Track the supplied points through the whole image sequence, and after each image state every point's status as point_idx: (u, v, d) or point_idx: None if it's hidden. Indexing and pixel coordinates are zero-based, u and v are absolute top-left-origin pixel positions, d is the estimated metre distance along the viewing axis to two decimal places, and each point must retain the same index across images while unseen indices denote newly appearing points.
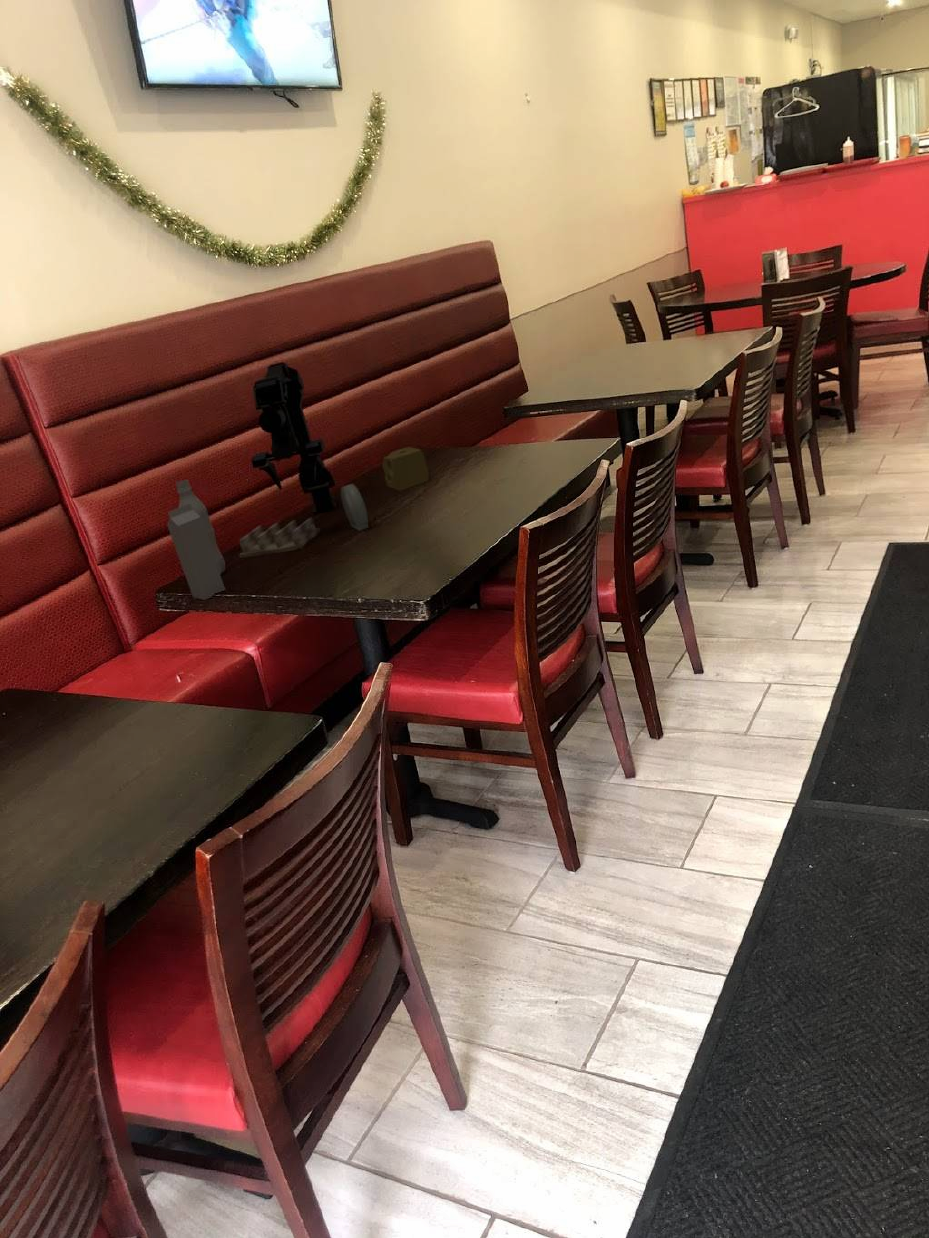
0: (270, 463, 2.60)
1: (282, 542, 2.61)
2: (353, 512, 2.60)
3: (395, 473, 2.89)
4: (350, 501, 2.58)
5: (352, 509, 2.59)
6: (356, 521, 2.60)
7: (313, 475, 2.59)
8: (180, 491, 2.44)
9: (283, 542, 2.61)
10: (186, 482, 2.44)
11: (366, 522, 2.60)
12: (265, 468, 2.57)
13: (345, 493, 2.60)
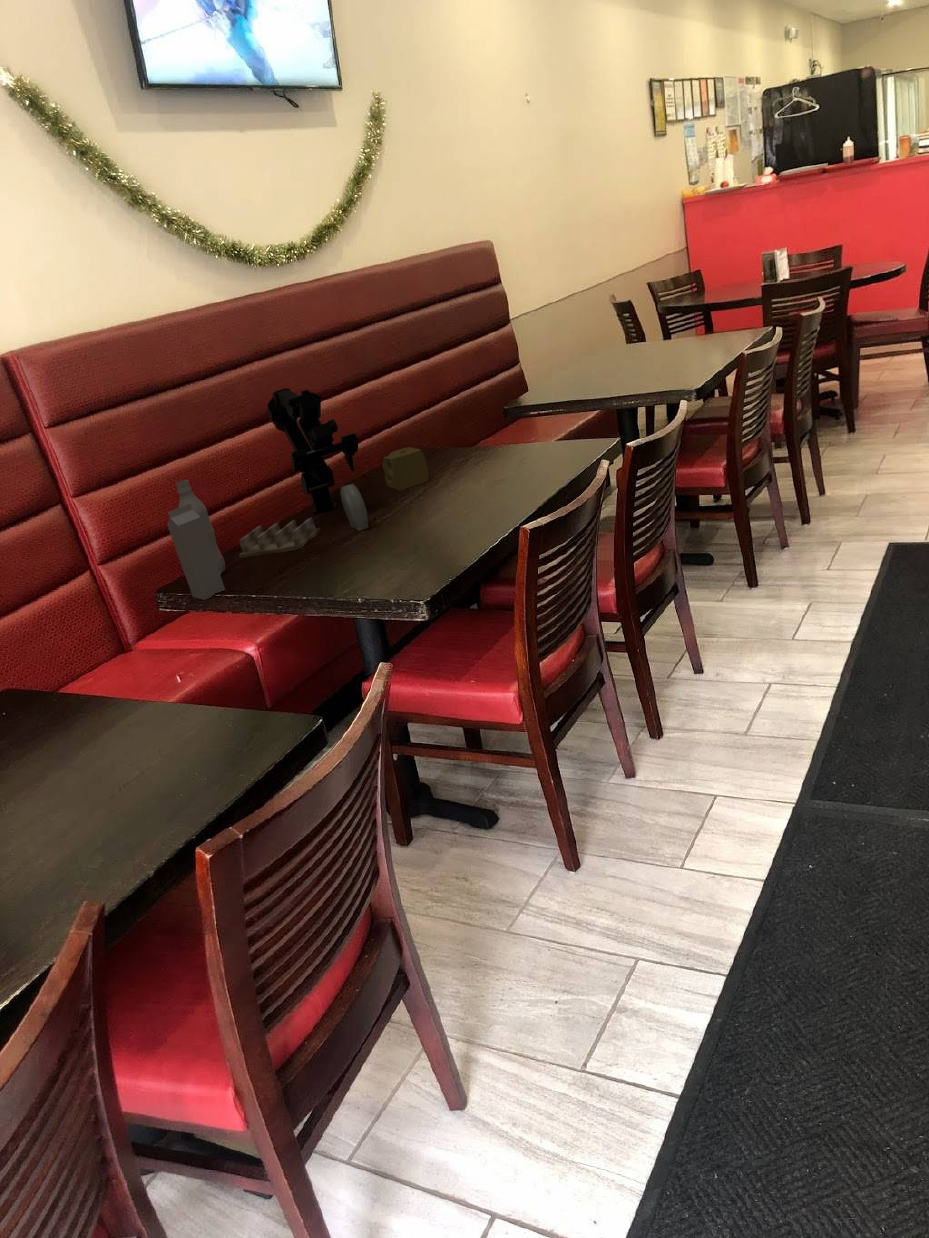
0: None
1: (282, 542, 2.61)
2: (353, 512, 2.60)
3: (395, 473, 2.89)
4: (350, 501, 2.58)
5: (352, 509, 2.59)
6: (356, 521, 2.60)
7: (352, 463, 2.67)
8: (180, 491, 2.44)
9: (283, 542, 2.61)
10: (186, 482, 2.44)
11: (366, 522, 2.60)
12: (306, 458, 2.64)
13: (345, 493, 2.60)
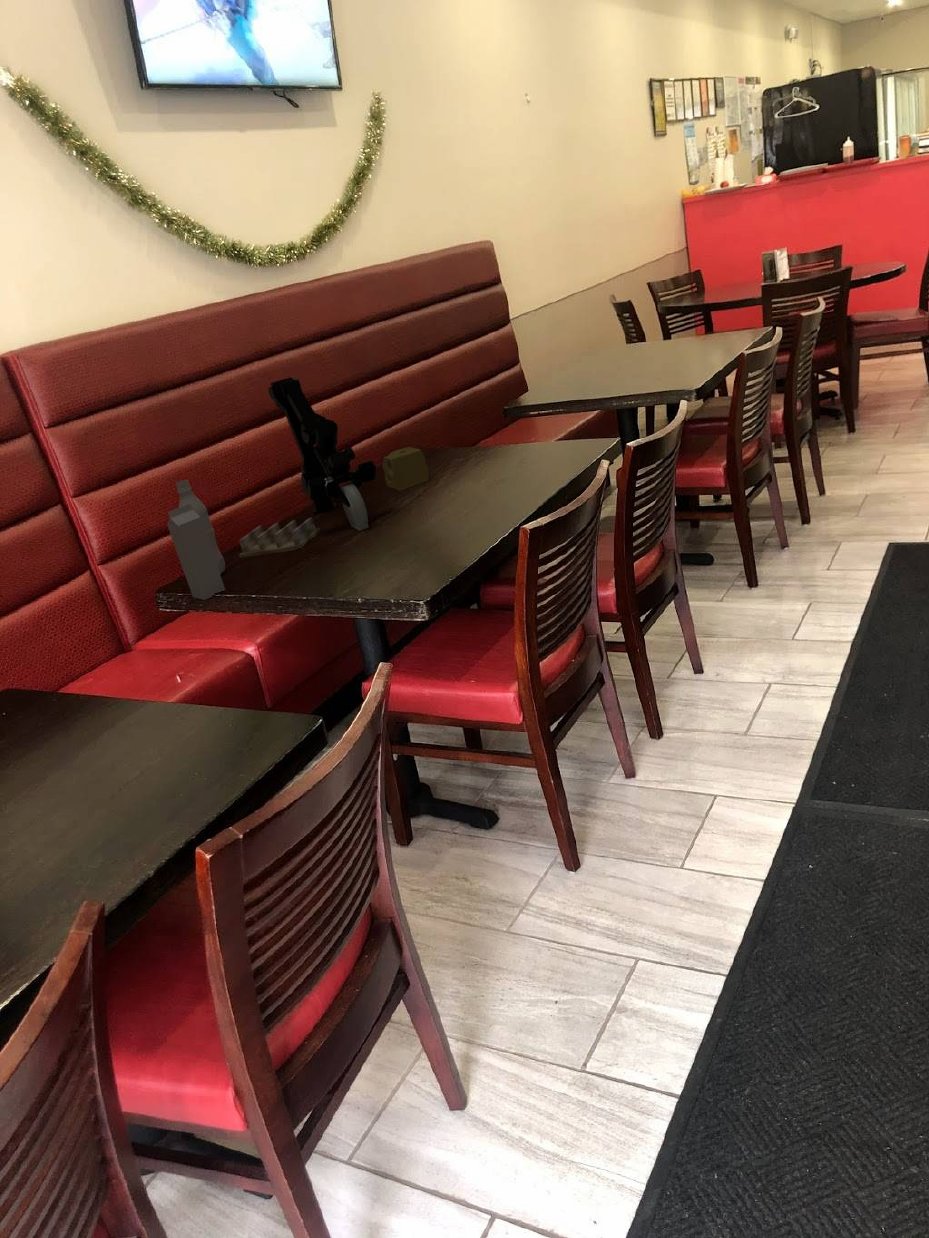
0: None
1: (282, 542, 2.61)
2: (353, 512, 2.60)
3: (395, 473, 2.89)
4: (350, 501, 2.58)
5: (352, 509, 2.59)
6: (356, 521, 2.60)
7: None
8: (180, 491, 2.44)
9: (283, 542, 2.61)
10: (186, 482, 2.44)
11: (366, 522, 2.60)
12: (333, 482, 2.59)
13: (345, 493, 2.60)
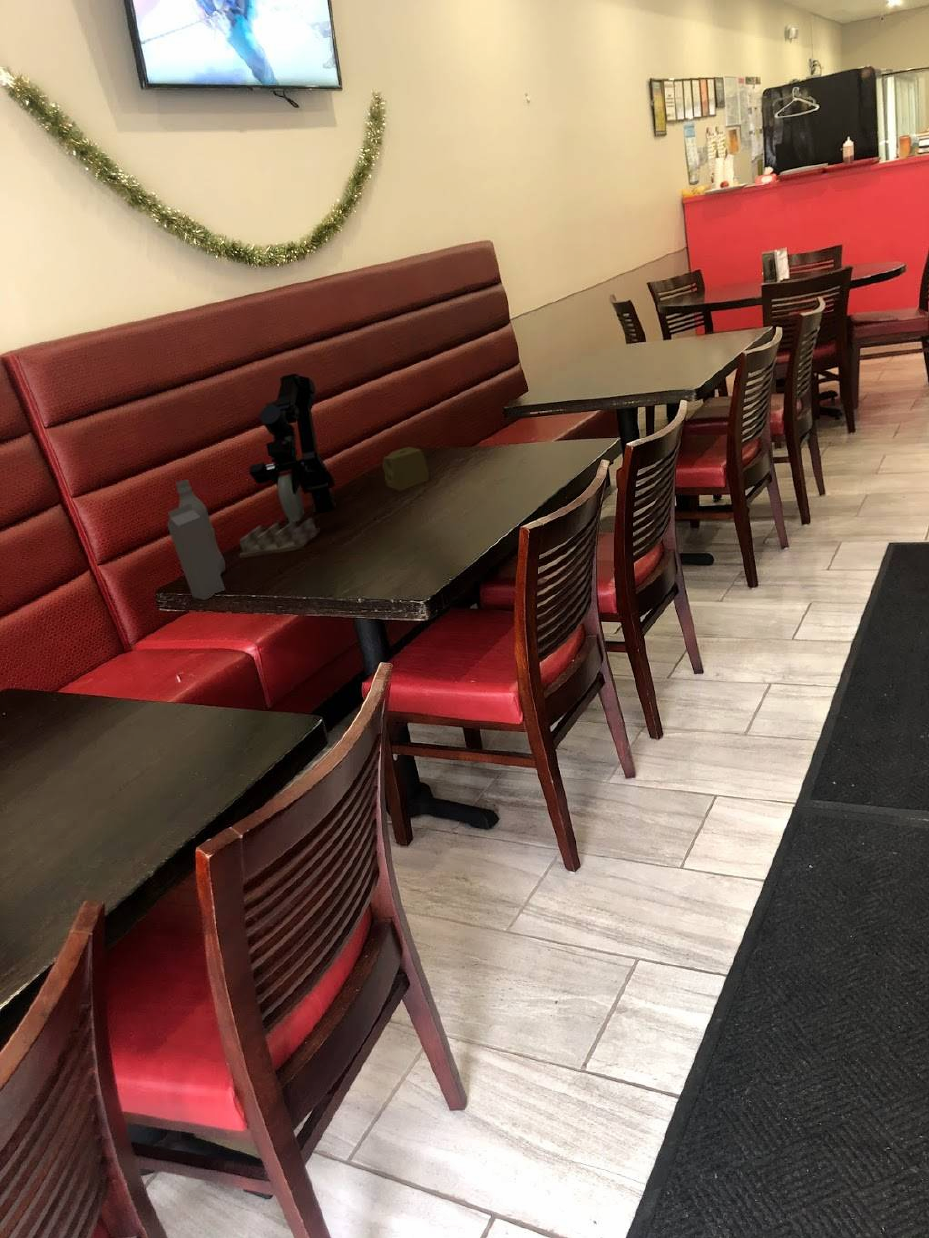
0: (279, 475, 2.62)
1: (282, 542, 2.61)
2: None
3: (395, 473, 2.89)
4: None
5: None
6: None
7: (293, 486, 2.58)
8: (180, 491, 2.44)
9: (283, 542, 2.61)
10: (186, 482, 2.44)
11: (295, 515, 2.57)
12: (271, 470, 2.58)
13: None
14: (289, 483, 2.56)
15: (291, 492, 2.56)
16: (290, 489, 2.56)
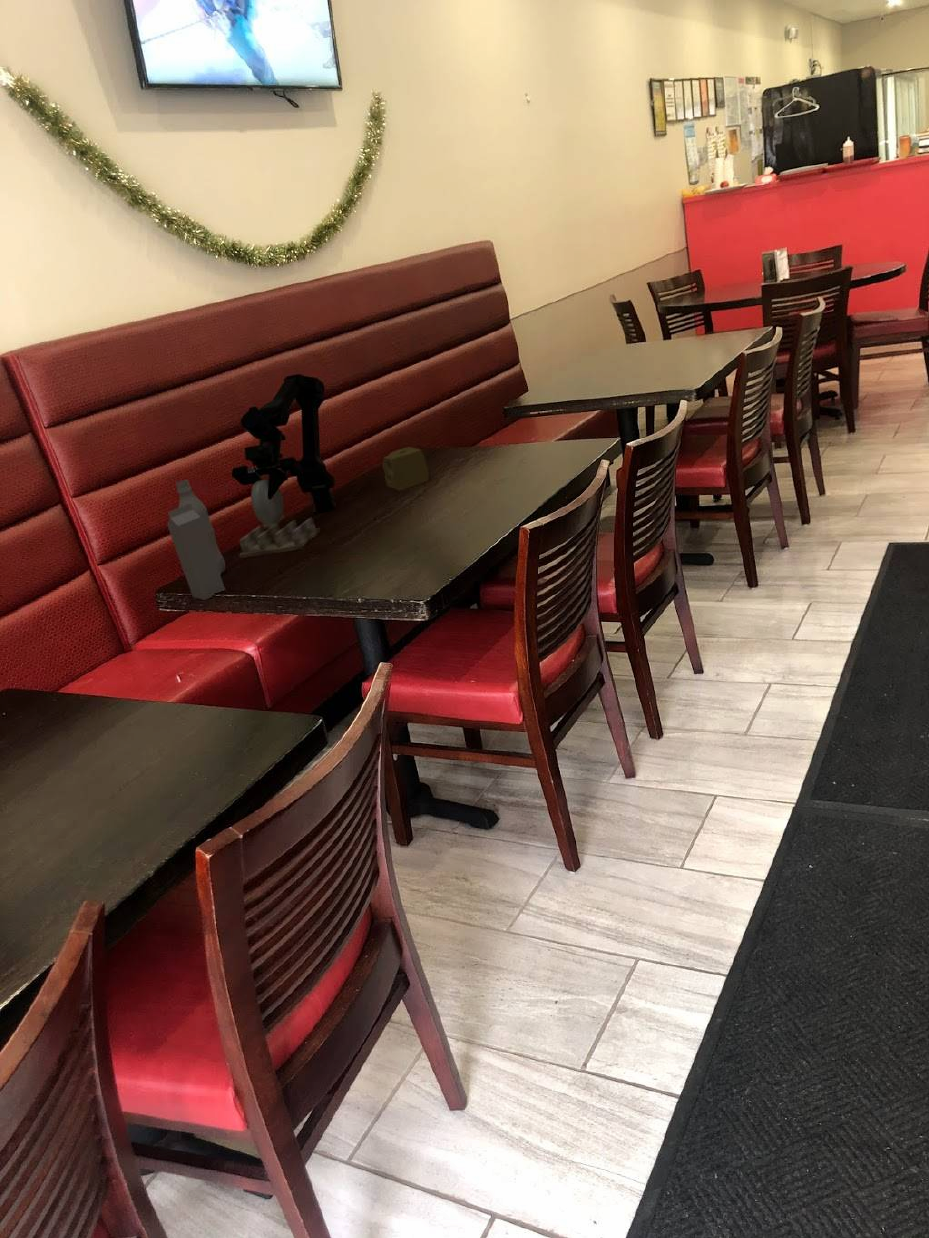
0: (260, 479, 2.65)
1: (282, 542, 2.61)
2: None
3: (395, 473, 2.89)
4: None
5: None
6: None
7: (269, 491, 2.60)
8: (180, 491, 2.44)
9: (283, 542, 2.61)
10: (186, 482, 2.44)
11: (268, 521, 2.60)
12: (250, 474, 2.61)
13: None
14: (264, 489, 2.58)
15: (265, 498, 2.58)
16: (264, 495, 2.58)
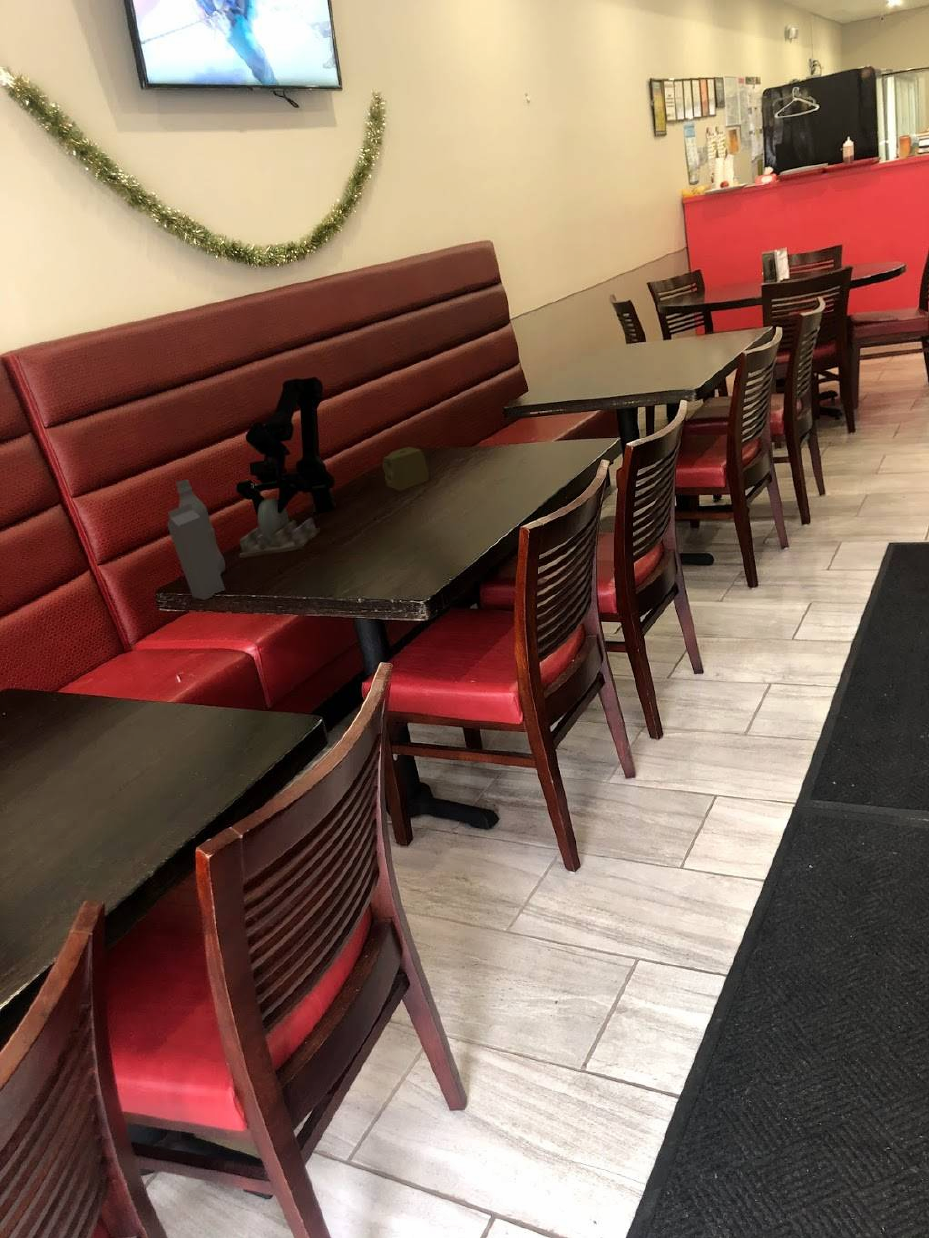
0: (259, 495, 2.67)
1: (282, 542, 2.61)
2: None
3: (395, 473, 2.89)
4: None
5: None
6: None
7: (279, 505, 2.60)
8: (180, 491, 2.44)
9: (283, 542, 2.61)
10: (186, 482, 2.44)
11: (274, 540, 2.61)
12: (249, 490, 2.63)
13: None
14: (270, 508, 2.60)
15: (271, 517, 2.60)
16: (270, 514, 2.60)
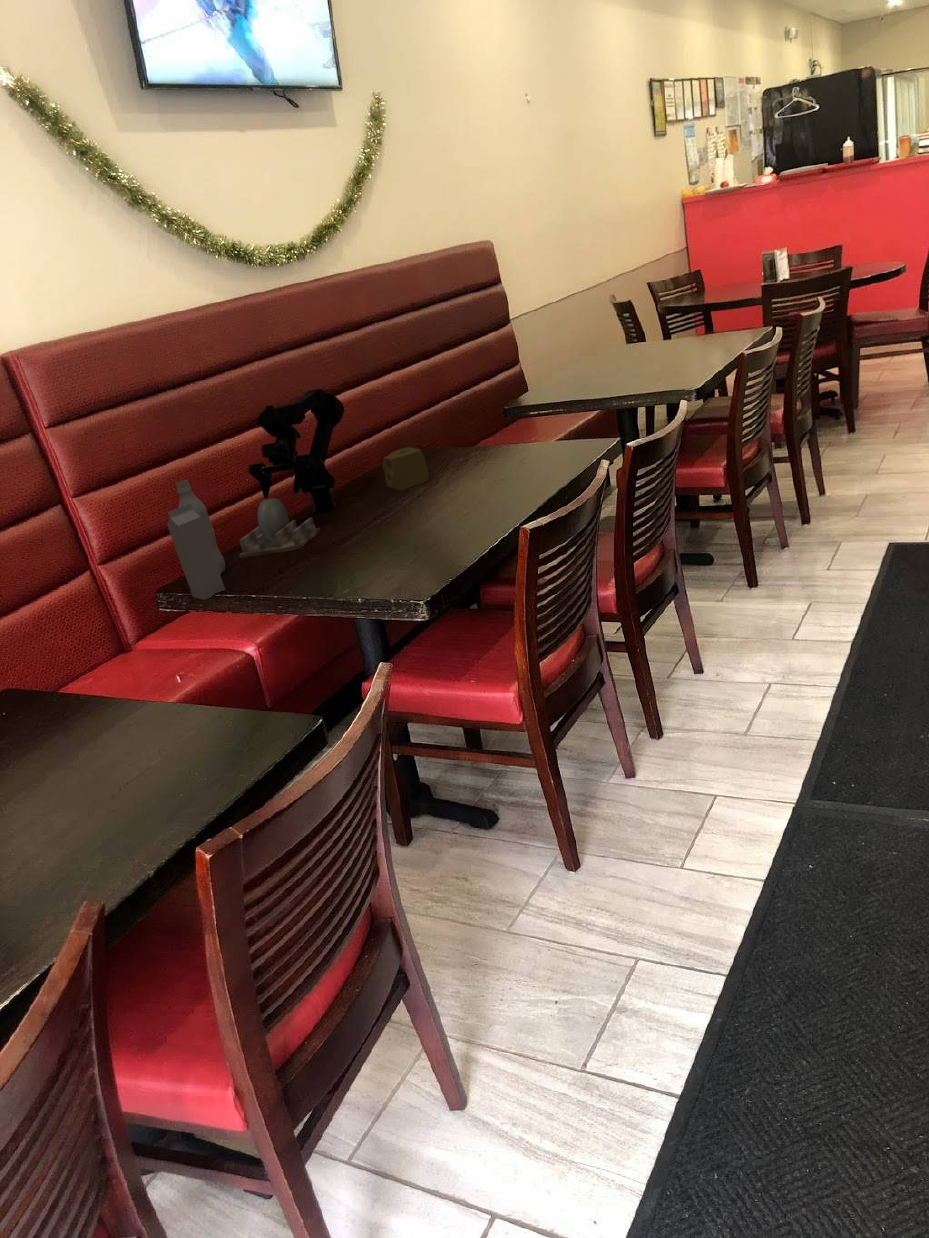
0: None
1: (282, 542, 2.61)
2: None
3: (395, 473, 2.89)
4: None
5: None
6: None
7: (295, 485, 2.67)
8: (180, 491, 2.44)
9: (283, 542, 2.61)
10: (186, 482, 2.44)
11: (274, 540, 2.61)
12: (257, 472, 2.71)
13: None
14: (270, 508, 2.60)
15: (271, 517, 2.60)
16: (270, 514, 2.60)
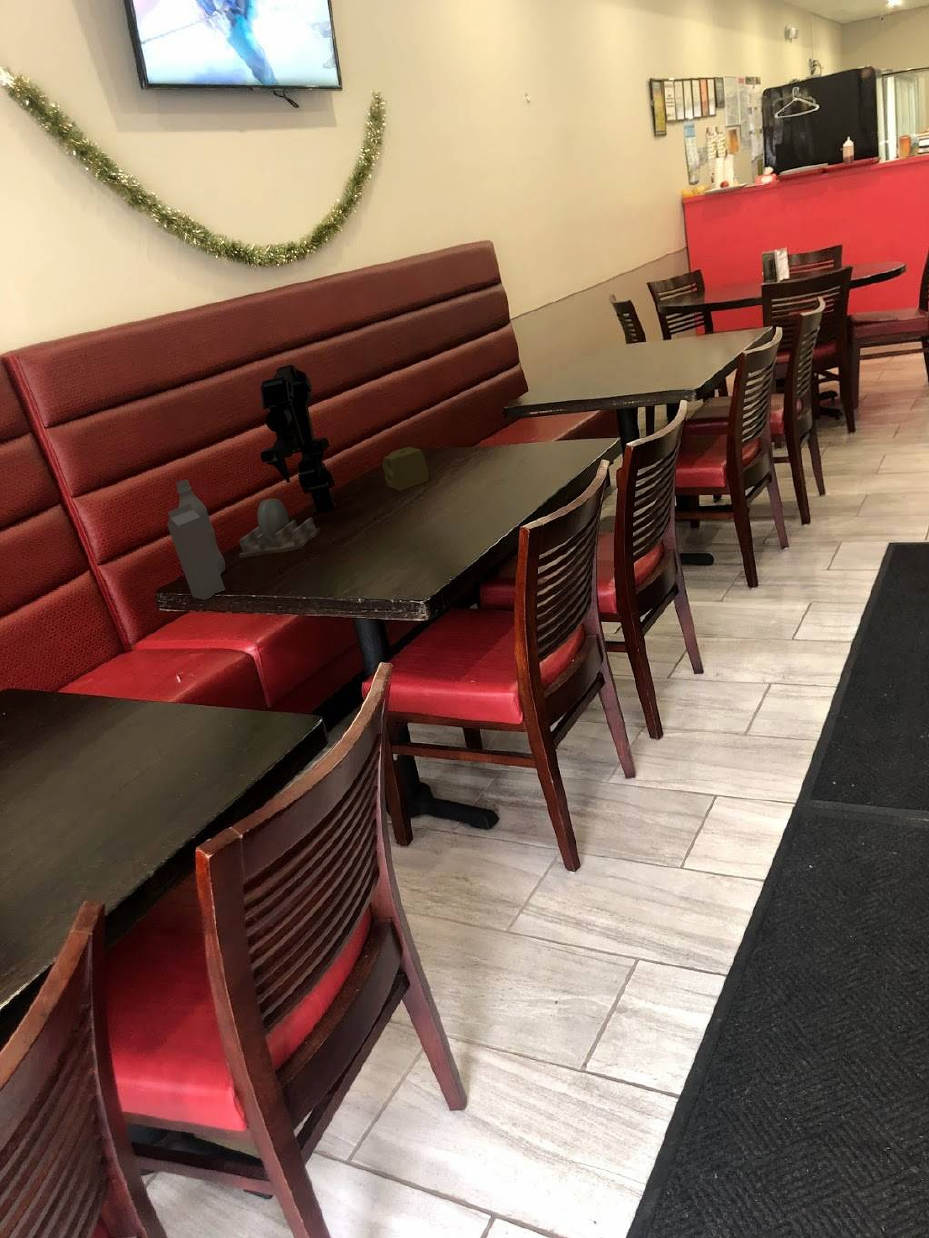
0: (280, 457, 2.73)
1: (282, 542, 2.61)
2: None
3: (395, 473, 2.89)
4: None
5: None
6: None
7: (316, 472, 2.70)
8: (180, 491, 2.44)
9: (283, 542, 2.61)
10: (186, 482, 2.44)
11: (274, 540, 2.61)
12: (272, 463, 2.70)
13: None
14: (270, 508, 2.60)
15: (271, 517, 2.60)
16: (270, 514, 2.60)
